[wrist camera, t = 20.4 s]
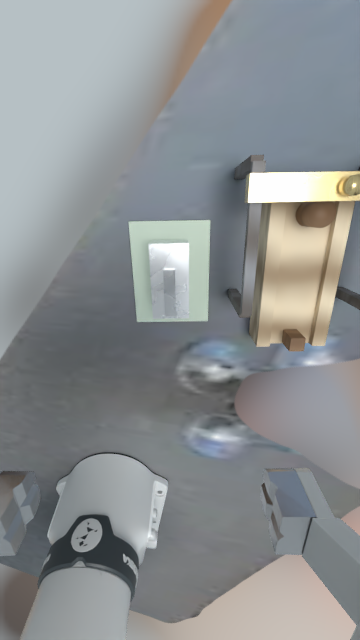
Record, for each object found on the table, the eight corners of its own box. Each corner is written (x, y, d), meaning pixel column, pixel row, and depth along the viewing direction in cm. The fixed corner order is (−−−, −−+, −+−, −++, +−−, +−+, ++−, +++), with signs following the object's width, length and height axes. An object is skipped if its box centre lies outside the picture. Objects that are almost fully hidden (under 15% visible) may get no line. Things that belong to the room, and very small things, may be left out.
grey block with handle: (188, 306, 33) (189, 320, 29) (155, 306, 33) (152, 320, 29) (187, 239, 30) (188, 243, 26) (152, 239, 30) (147, 244, 26)
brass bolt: (429, 199, 22) (455, 198, 20) (244, 202, 22) (251, 202, 20) (438, 171, 21) (466, 167, 19) (246, 175, 21) (253, 171, 19)
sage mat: (207, 319, 34) (207, 320, 34) (137, 320, 34) (137, 322, 34) (209, 219, 30) (210, 220, 29) (129, 221, 30) (128, 221, 29)
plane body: (333, 331, 35) (372, 362, 28) (226, 333, 35) (237, 364, 28) (369, 165, 28) (435, 149, 21) (234, 168, 28) (253, 153, 21)
